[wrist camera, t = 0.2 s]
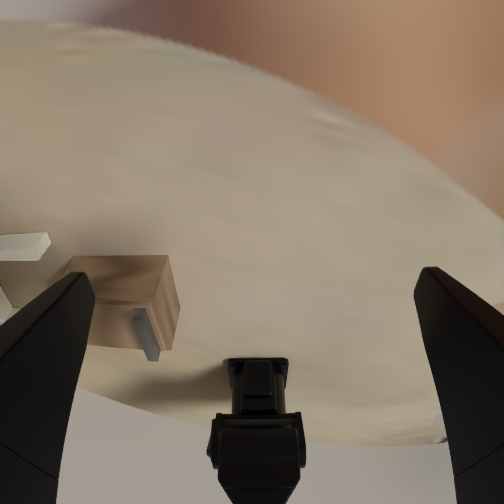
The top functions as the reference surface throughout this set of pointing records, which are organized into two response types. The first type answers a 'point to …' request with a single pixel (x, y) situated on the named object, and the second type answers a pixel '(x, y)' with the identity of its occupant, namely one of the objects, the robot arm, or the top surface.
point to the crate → (131, 301)
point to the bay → (20, 259)
